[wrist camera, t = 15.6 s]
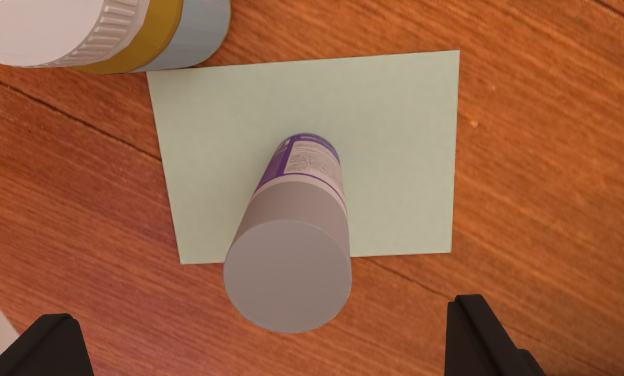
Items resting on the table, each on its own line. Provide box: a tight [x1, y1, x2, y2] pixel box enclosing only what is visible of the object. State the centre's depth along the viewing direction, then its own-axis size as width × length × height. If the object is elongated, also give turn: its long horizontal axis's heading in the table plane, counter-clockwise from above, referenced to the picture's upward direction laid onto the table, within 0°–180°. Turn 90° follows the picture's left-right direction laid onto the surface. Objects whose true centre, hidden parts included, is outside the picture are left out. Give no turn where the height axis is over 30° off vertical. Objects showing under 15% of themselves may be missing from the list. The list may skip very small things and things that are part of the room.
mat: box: [146, 50, 460, 264], centre depth 29 cm, size 20×14×1 cm
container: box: [223, 133, 352, 333], centre depth 21 cm, size 5×5×15 cm
